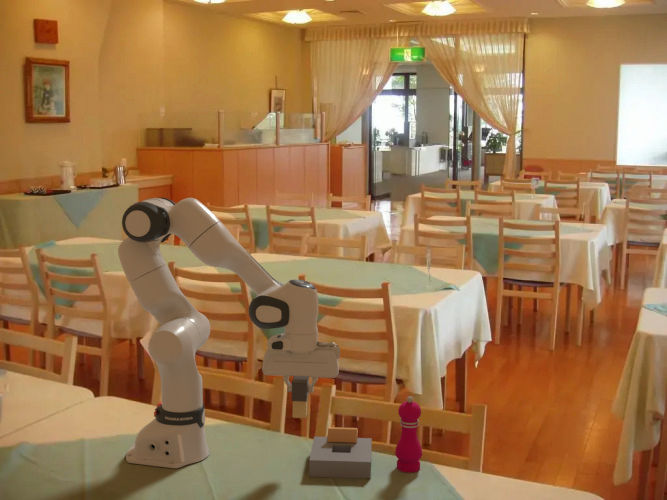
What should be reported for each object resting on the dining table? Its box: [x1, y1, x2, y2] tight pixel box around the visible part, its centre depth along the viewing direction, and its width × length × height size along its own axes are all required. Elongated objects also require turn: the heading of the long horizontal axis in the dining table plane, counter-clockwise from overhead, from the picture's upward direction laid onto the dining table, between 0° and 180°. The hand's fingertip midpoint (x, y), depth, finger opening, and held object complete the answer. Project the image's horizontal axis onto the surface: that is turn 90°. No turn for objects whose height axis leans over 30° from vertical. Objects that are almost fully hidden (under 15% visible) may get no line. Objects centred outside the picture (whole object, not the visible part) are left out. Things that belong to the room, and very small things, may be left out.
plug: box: [291, 376, 310, 419], centre depth 216 cm, size 4×6×10 cm, turn 177°
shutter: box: [327, 426, 359, 443], centre depth 226 cm, size 8×8×4 cm
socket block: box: [308, 436, 373, 480], centre depth 218 cm, size 16×16×5 cm
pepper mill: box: [394, 395, 423, 474], centre depth 216 cm, size 7×7×20 cm
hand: (300, 391), depth 216 cm, fingers closed on plug, 4 cm apart
